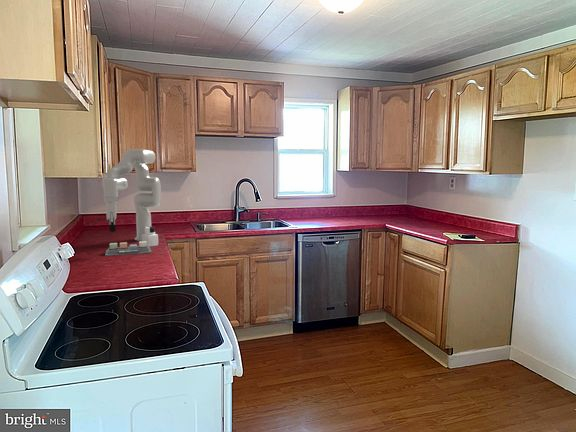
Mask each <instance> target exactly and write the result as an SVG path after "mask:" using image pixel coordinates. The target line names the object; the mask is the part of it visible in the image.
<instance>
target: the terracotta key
mask: <svg viewBox="0 0 576 432" xmlns="http://www.w3.org/2000/svg"><path fill="white" fill-rule="evenodd" d="M119 247H120V248H127V247H128V242H127V241H125V242H119Z"/></svg>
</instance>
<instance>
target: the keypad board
mask: <svg viewBox="0 0 576 432" xmlns="http://www.w3.org/2000/svg"><path fill="white" fill-rule="evenodd" d="M151 248H152V247H148V246H146V247H140V246H139V245H137V248H131V249H130V246H127V248H120V246H119V247H118V246H117V248H116V249H110V247H108V248H107V249H106V250H105V254H104V257H112V256H113V255H115V256H125V255H127V256H128V255H139V254H153V253H152V249H151ZM113 257H114V256H113Z"/></svg>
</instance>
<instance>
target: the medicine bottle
mask: <svg viewBox="0 0 576 432" xmlns="http://www.w3.org/2000/svg"><path fill="white" fill-rule="evenodd" d="M154 233H155V234H154ZM142 241H146V242H147V246H148V247H150V248H152V247H157V246H159V234H157V233H156V228H155V226H151V227H145V234H143V235H142Z"/></svg>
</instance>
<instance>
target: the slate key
mask: <svg viewBox="0 0 576 432" xmlns="http://www.w3.org/2000/svg"><path fill="white" fill-rule="evenodd" d="M137 246H138V245H137V244H129V247H130V249H131V248H137Z"/></svg>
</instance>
